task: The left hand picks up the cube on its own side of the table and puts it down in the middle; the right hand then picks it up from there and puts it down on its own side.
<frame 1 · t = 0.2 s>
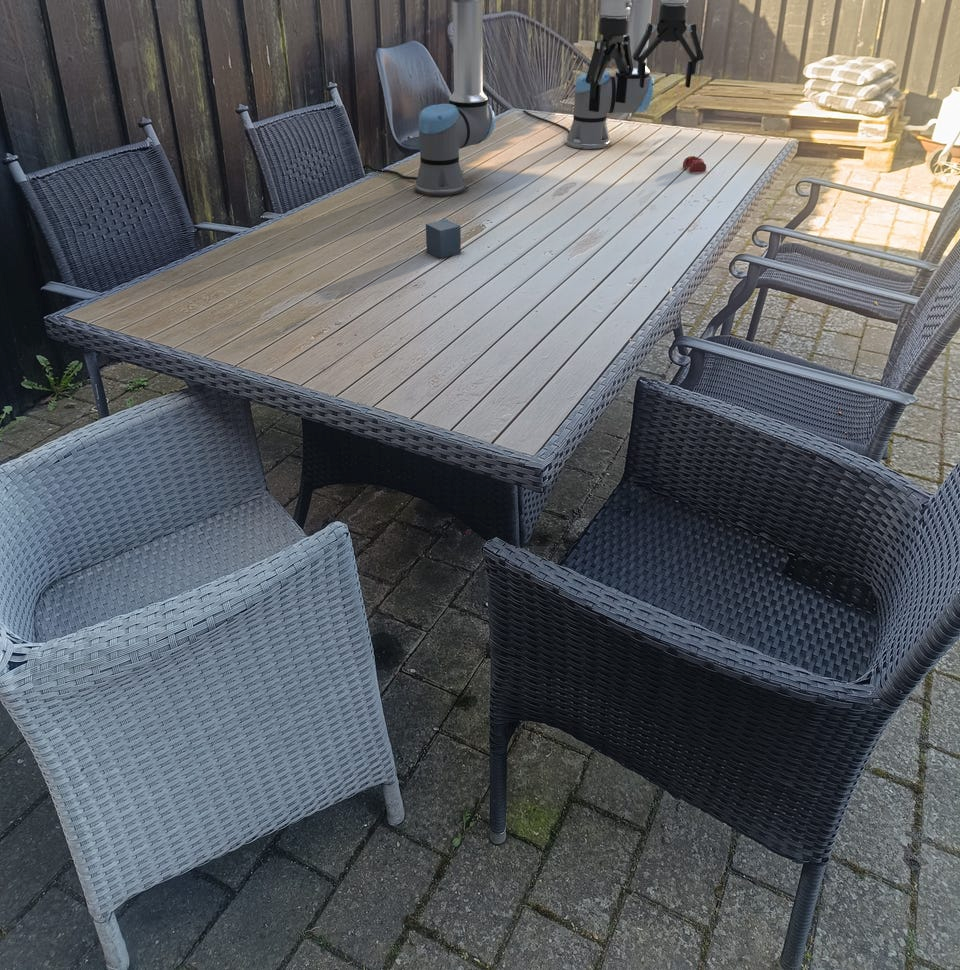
left hand: (607, 106, 226), 28 cm above the table, tool pointing down, fingers open, 13 cm apart
right hand: (664, 86, 248), 28 cm above the table, tool pointing down, fingers open, 13 cm apart
dark red rounded lump: (693, 170, 276), on the table
cube: (443, 252, 215), on the table
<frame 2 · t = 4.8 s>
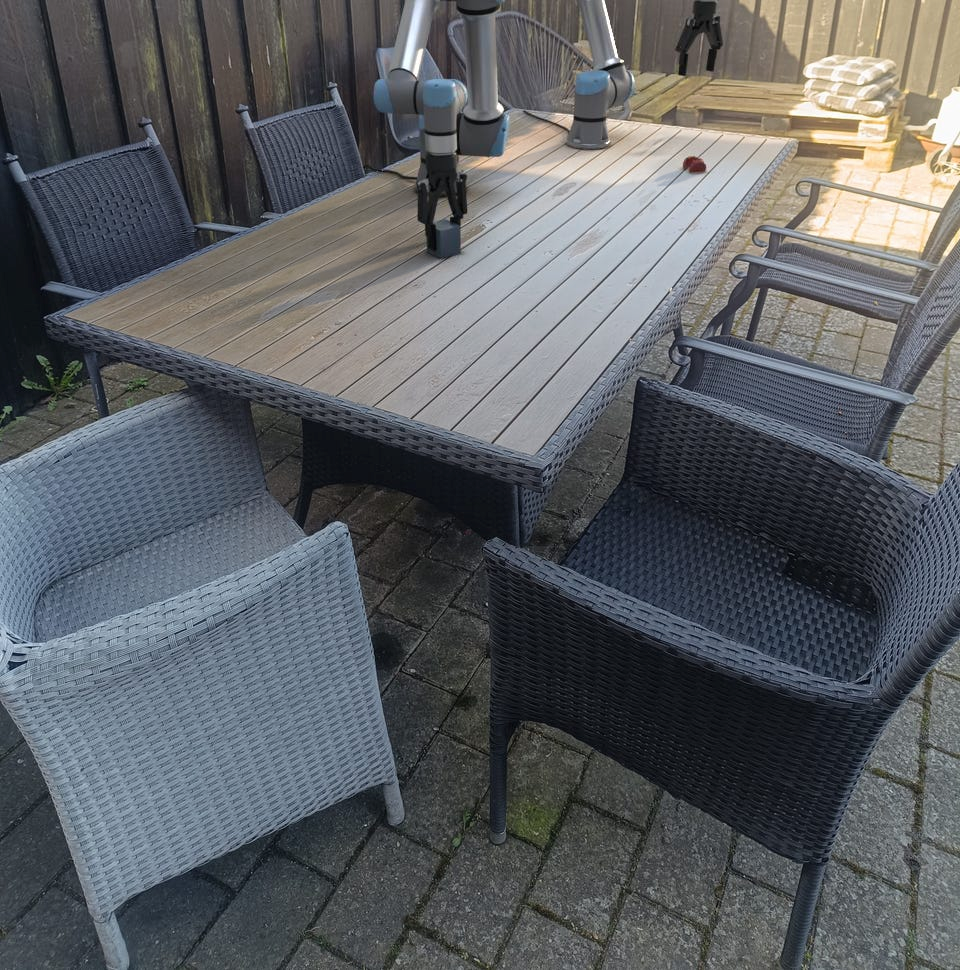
left hand: (443, 246, 214), 2 cm above the table, tool pointing down, fingers closed on cube, 6 cm apart
right hand: (695, 73, 280), 25 cm above the table, tool pointing down, fingers open, 13 cm apart
cube: (443, 252, 215), on the table, touching left hand
everything else where it was.
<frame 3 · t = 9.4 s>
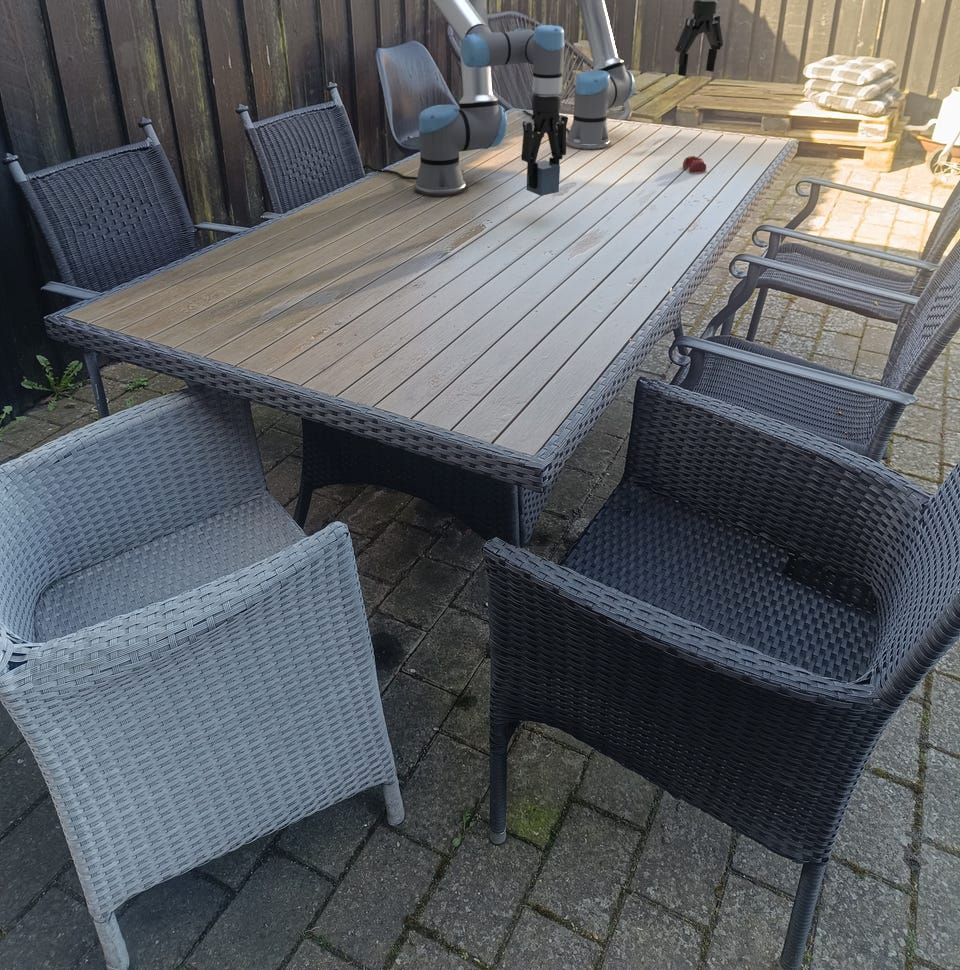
left hand: (542, 185, 230), 9 cm above the table, tool pointing down, fingers closed on cube, 6 cm apart
right hand: (695, 73, 280), 25 cm above the table, tool pointing down, fingers open, 13 cm apart
cube: (542, 191, 231), point 8 cm above the table, touching left hand
everything else where it was.
when the left hand's fingers open (3 cm above the table, at t = 14.0 s): cube drops 2 cm, on the table.
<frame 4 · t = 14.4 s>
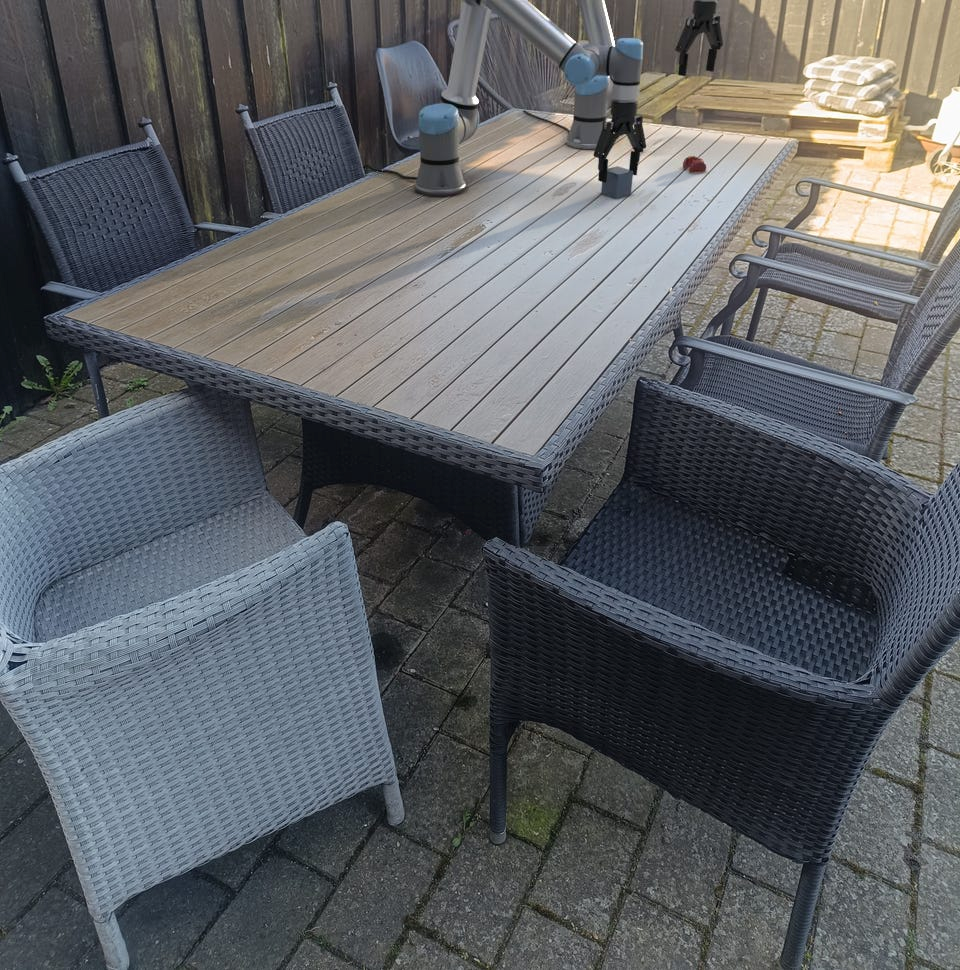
left hand: (617, 177, 252), 5 cm above the table, tool pointing down, fingers open, 12 cm apart
right hand: (695, 73, 280), 25 cm above the table, tool pointing down, fingers open, 13 cm apart
cube: (615, 194, 255), on the table
everything else where it was.
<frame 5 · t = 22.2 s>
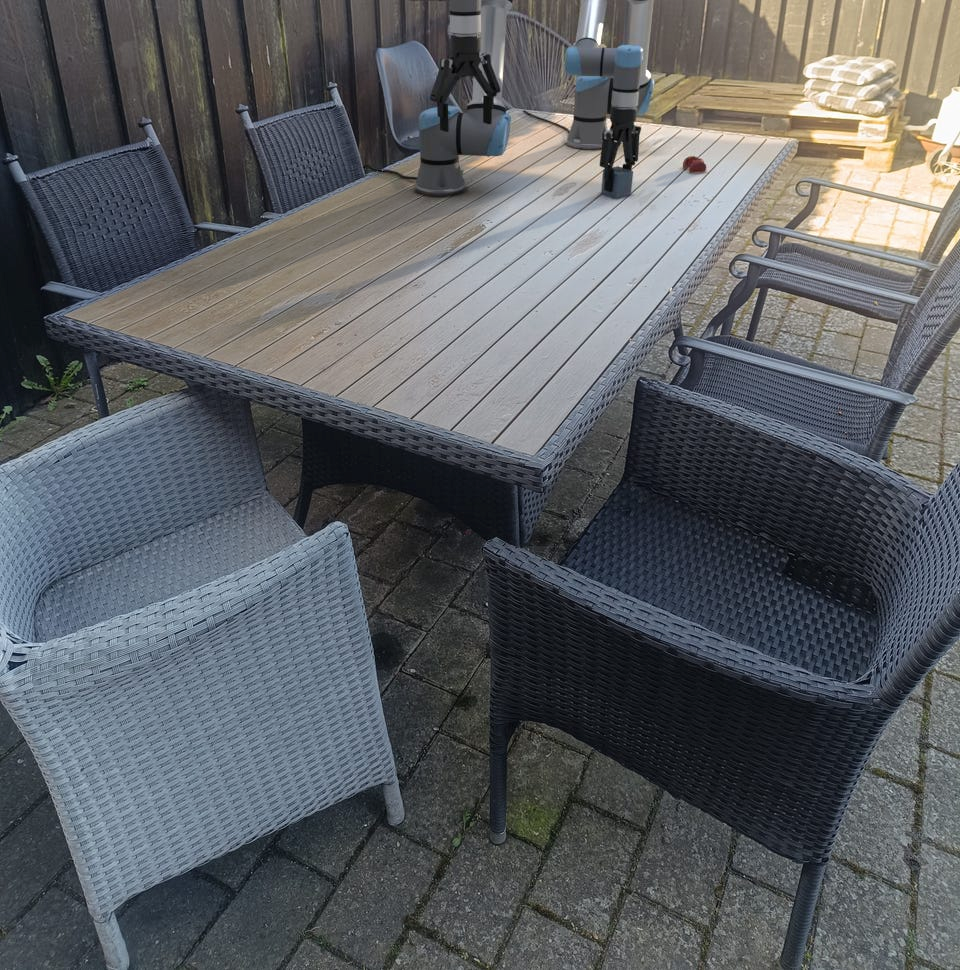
left hand: (466, 127, 217), 26 cm above the table, tool pointing down, fingers open, 13 cm apart
right hand: (616, 188, 254), 2 cm above the table, tool pointing down, fingers closed on cube, 6 cm apart
cube: (615, 194, 255), on the table, touching right hand
everything else where it was.
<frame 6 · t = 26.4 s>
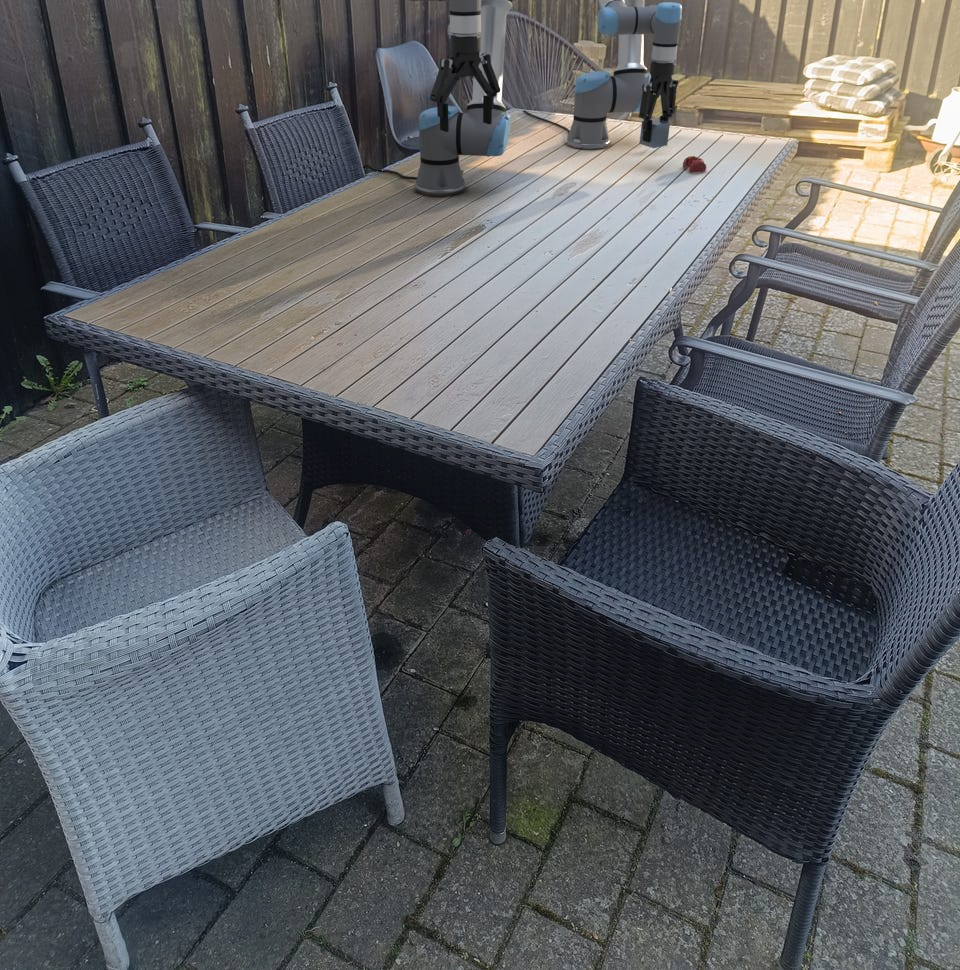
left hand: (466, 127, 217), 26 cm above the table, tool pointing down, fingers open, 13 cm apart
right hand: (653, 139, 272), 9 cm above the table, tool pointing down, fingers closed on cube, 6 cm apart
cube: (653, 144, 273), point 8 cm above the table, touching right hand
everything else where it was.
when the right hand's fingers open (3 cm above the table, at t = 30.6 s): cube drops 2 cm, on the table.
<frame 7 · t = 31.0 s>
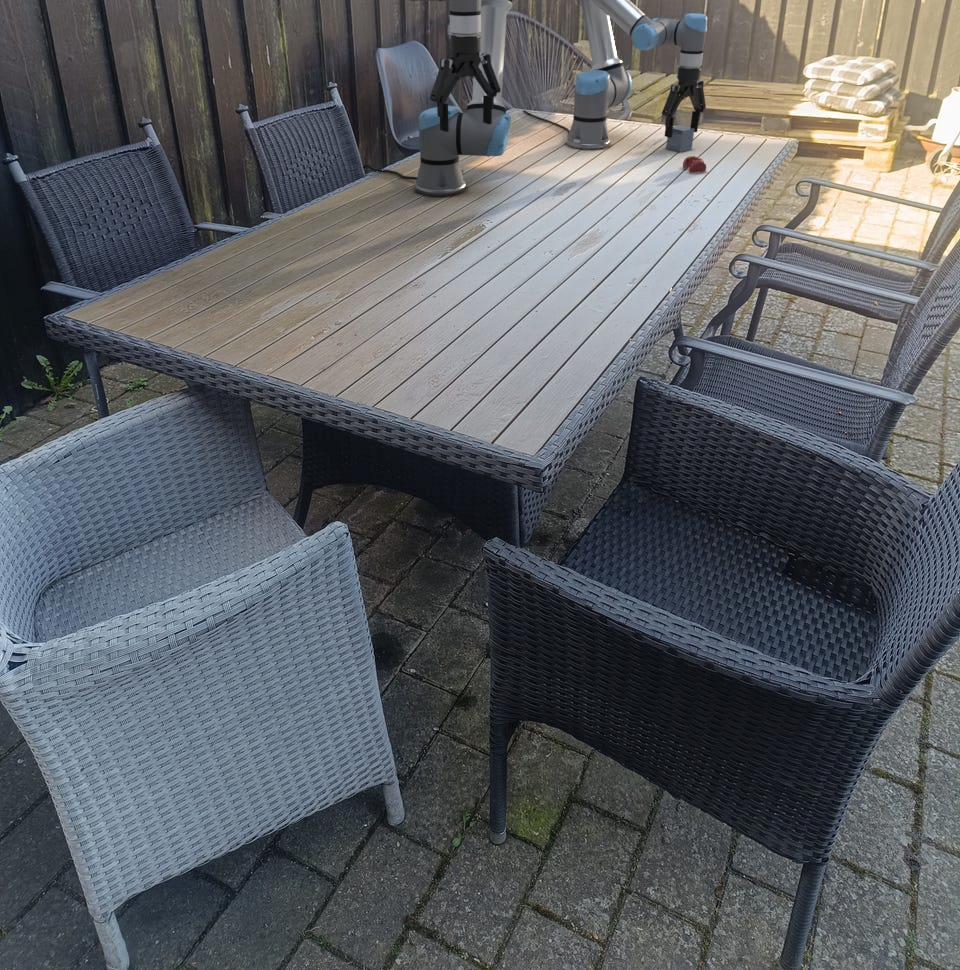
left hand: (466, 127, 217), 26 cm above the table, tool pointing down, fingers open, 13 cm apart
right hand: (680, 134, 295), 5 cm above the table, tool pointing down, fingers open, 12 cm apart
cube: (678, 148, 298), on the table
everything else where it was.
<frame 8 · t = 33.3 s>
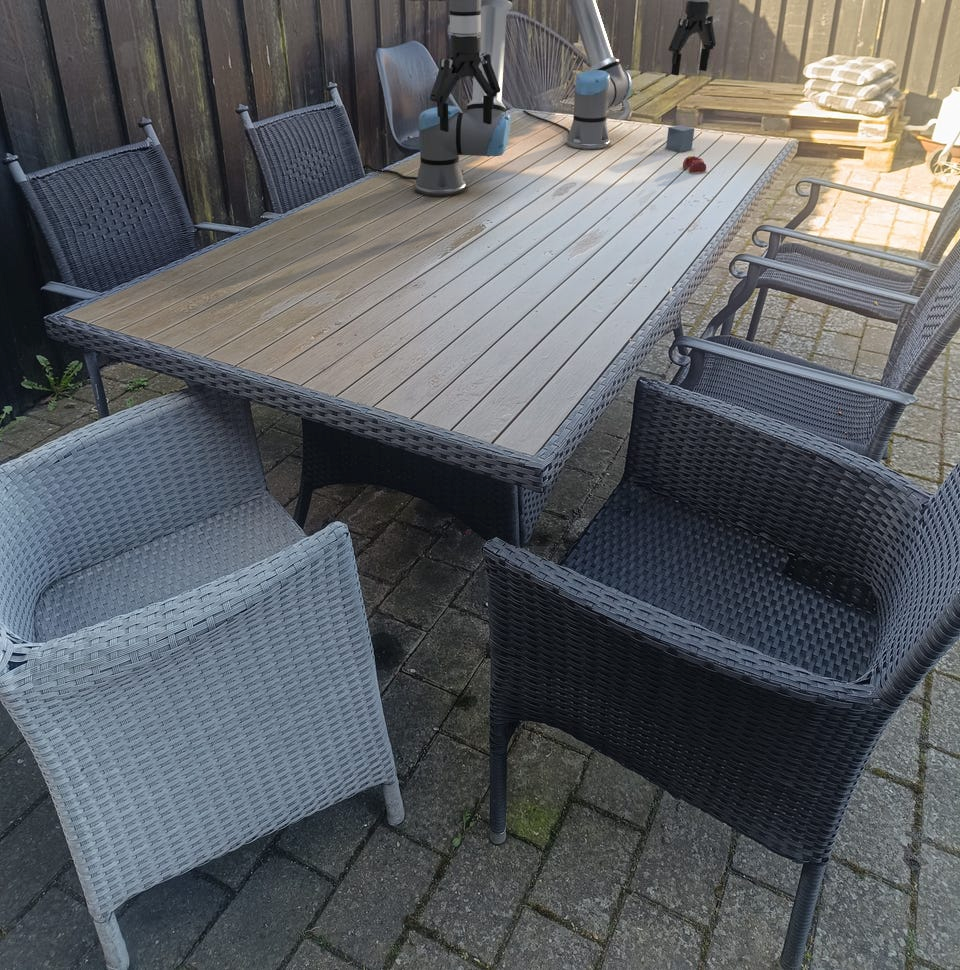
left hand: (466, 127, 217), 26 cm above the table, tool pointing down, fingers open, 13 cm apart
right hand: (689, 72, 284), 25 cm above the table, tool pointing down, fingers open, 13 cm apart
nothing on the table moved.
at the end: cube inside the target area (0.1 cm from its centre), on the table; cube tilted 0°; the two hands never held the cube at the same time; the left hand is holding nothing; the right hand is holding nothing; cube at rest at the end (0.0 cm/s) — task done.
